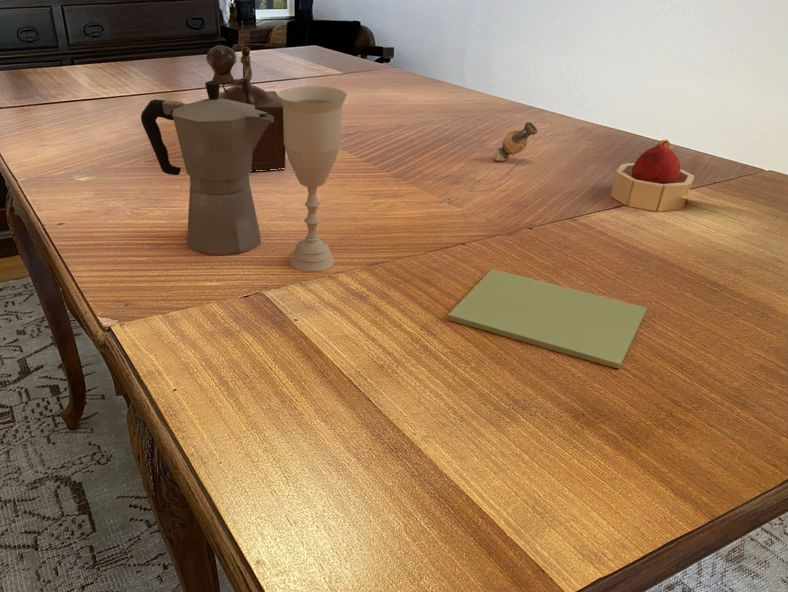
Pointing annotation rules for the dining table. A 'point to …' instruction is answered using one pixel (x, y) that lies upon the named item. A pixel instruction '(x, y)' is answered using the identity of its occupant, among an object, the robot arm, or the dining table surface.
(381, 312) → the dining table surface
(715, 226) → the dining table surface
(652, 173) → the onion
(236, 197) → the coffeepot
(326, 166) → the chalice
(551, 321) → the mat
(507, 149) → the vase
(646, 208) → the octagonal bowl
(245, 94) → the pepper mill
